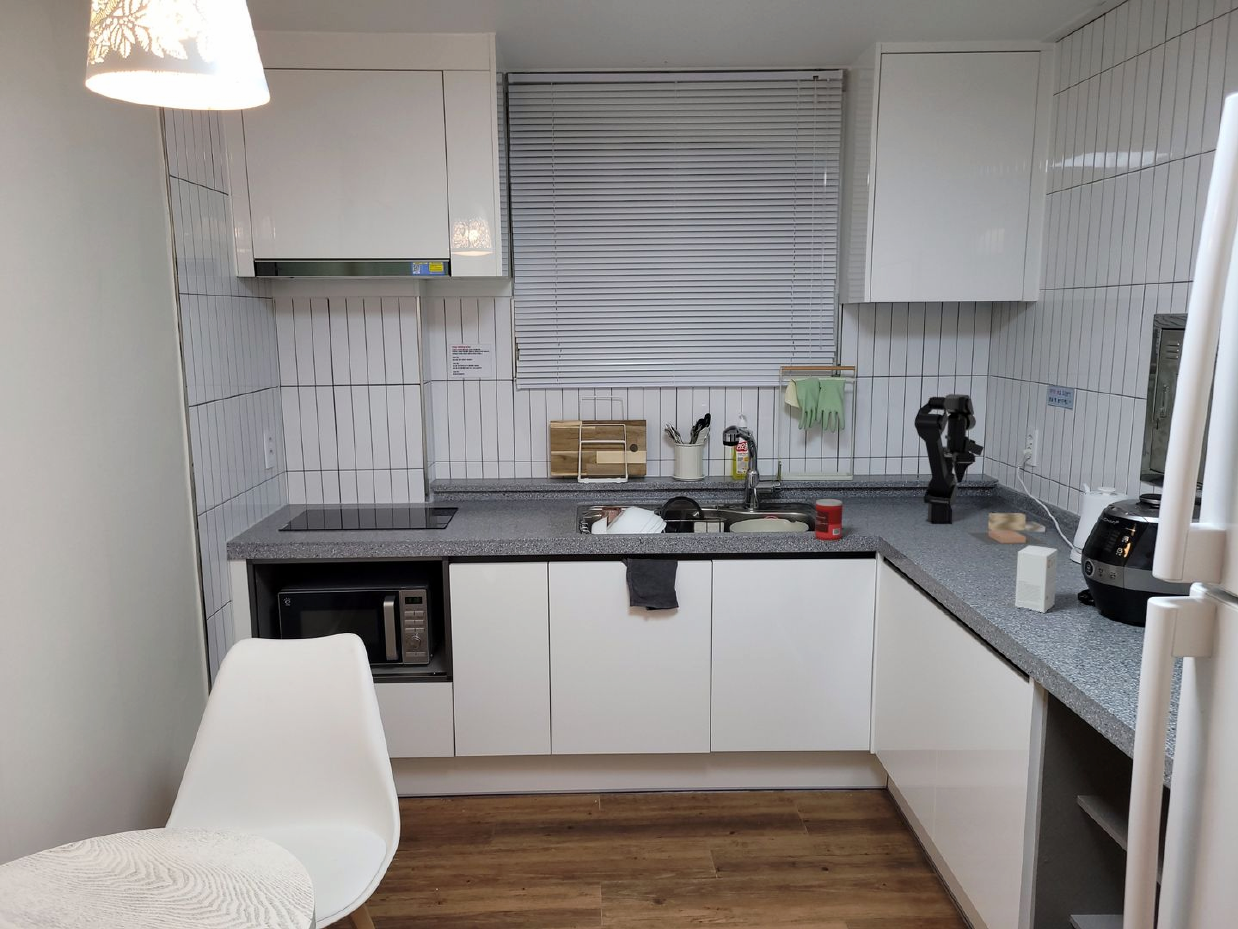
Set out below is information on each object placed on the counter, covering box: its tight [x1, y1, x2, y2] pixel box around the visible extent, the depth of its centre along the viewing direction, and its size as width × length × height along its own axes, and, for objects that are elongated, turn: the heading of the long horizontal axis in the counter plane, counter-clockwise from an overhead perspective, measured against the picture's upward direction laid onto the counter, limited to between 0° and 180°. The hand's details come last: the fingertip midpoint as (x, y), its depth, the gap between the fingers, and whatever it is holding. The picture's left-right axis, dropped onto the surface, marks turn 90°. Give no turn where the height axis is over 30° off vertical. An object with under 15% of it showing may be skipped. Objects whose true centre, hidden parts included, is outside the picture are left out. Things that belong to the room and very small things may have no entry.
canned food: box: [814, 498, 843, 541], centre depth 271 cm, size 8×8×11 cm
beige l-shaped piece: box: [987, 512, 1046, 533], centre depth 280 cm, size 15×8×5 cm, turn 90°
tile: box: [988, 529, 1026, 543], centre depth 267 cm, size 7×2×9 cm
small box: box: [1014, 544, 1059, 614], centre depth 202 cm, size 8×6×13 cm
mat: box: [967, 531, 1047, 546], centre depth 268 cm, size 17×15×1 cm
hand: (954, 480), depth 300 cm, fingers open, 9 cm apart
